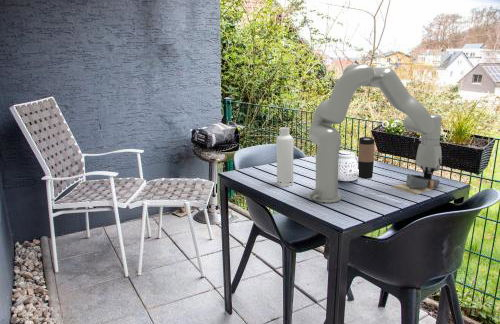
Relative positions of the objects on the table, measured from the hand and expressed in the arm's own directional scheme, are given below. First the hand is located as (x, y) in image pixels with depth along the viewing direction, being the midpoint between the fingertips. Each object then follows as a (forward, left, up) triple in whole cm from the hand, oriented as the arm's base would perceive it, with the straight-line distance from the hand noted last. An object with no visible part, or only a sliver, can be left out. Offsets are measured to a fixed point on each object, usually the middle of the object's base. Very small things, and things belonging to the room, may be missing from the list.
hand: (427, 180), depth 177 cm
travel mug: (-9, +29, -3) cm, 30 cm away
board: (-8, +1, -3) cm, 9 cm away
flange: (-4, -1, -2) cm, 5 cm away
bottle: (-49, +44, -3) cm, 66 cm away
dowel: (-3, -4, -2) cm, 5 cm away
